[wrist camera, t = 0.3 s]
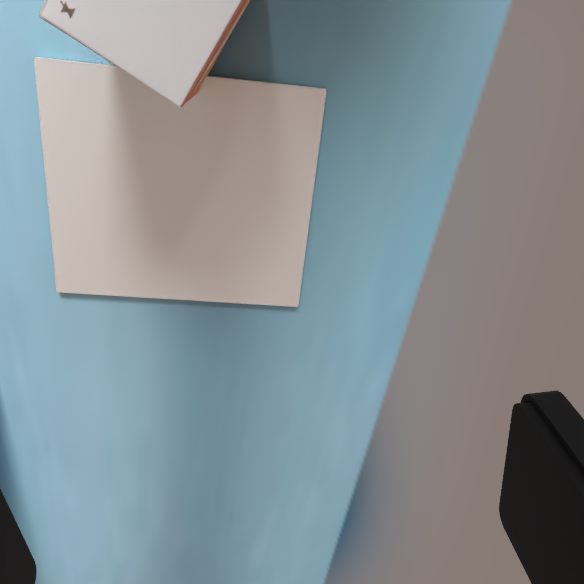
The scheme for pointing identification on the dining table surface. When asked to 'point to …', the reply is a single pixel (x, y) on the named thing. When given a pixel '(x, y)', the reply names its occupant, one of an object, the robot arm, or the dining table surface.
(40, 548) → the dining table surface
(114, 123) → the mat
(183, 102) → the small box
